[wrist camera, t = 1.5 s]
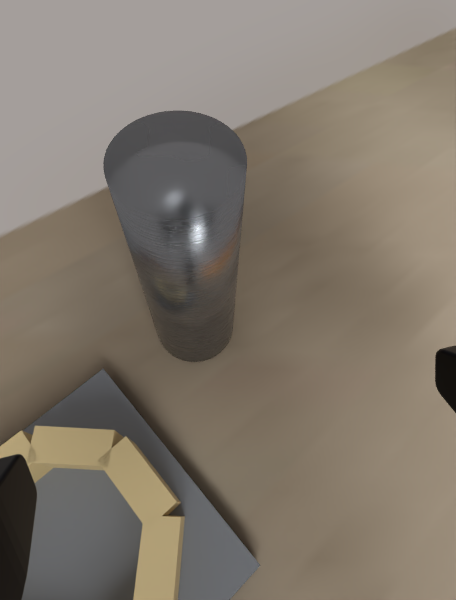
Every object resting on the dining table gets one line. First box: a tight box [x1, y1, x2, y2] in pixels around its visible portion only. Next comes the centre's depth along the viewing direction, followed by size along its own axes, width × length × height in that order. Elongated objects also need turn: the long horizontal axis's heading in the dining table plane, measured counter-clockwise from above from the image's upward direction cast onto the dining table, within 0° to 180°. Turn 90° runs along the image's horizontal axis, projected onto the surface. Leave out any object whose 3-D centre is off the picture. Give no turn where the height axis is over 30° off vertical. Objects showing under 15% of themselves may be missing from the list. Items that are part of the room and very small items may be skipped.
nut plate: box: [0, 369, 260, 600], centre depth 18 cm, size 12×12×4 cm
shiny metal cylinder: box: [104, 111, 247, 362], centre depth 19 cm, size 4×4×13 cm
